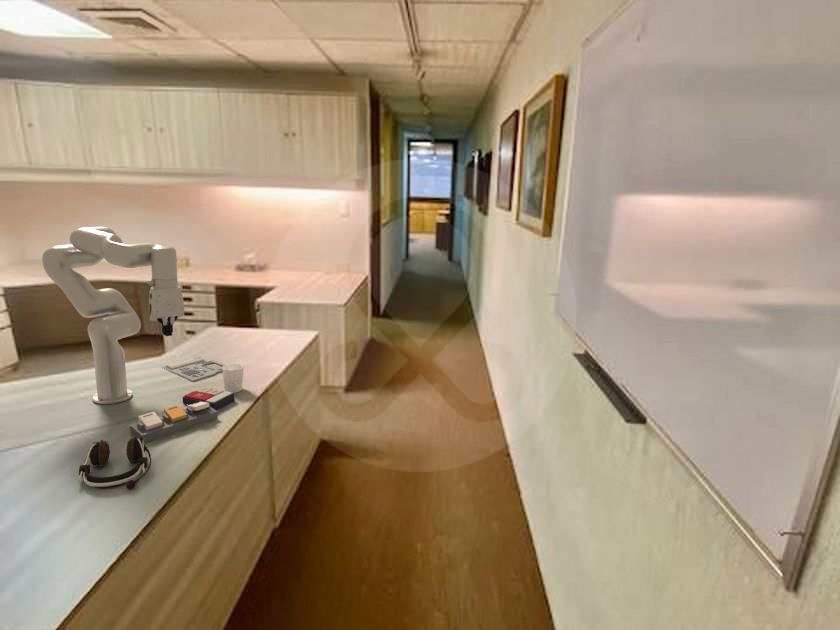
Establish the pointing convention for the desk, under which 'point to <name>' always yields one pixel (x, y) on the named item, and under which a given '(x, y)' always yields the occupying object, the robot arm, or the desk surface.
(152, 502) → the desk surface
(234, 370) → the white cup
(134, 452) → the headset
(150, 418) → the rocker
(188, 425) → the rocker switch panel
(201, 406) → the rocker
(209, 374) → the office telephone
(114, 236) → the robot arm
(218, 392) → the calculator
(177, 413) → the rocker middle
